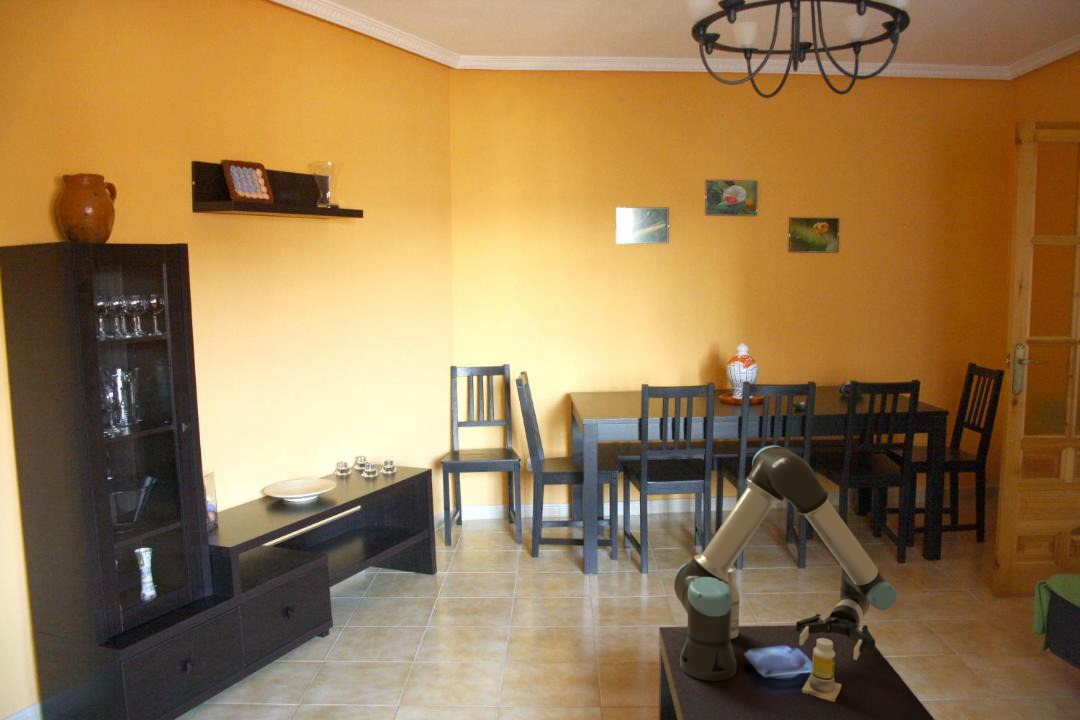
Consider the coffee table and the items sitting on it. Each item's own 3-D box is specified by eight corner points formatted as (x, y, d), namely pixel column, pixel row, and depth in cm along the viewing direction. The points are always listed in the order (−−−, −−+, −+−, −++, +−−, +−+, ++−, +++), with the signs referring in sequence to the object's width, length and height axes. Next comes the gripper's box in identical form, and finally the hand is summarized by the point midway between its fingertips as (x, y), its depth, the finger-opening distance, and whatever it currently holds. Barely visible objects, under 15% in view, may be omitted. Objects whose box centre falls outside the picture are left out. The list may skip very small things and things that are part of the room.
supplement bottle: (835, 684, 196) (837, 647, 195) (813, 681, 197) (815, 645, 196) (831, 673, 201) (833, 637, 200) (810, 671, 202) (812, 635, 201)
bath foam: (738, 630, 233) (741, 567, 231) (737, 641, 226) (740, 575, 224) (715, 627, 235) (717, 564, 233) (713, 637, 228) (715, 573, 226)
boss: (802, 692, 198) (802, 679, 198) (809, 679, 205) (810, 666, 204) (834, 702, 194) (835, 688, 193) (841, 687, 200) (841, 675, 200)
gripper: (892, 641, 211) (878, 674, 193) (800, 619, 224) (778, 648, 207) (894, 615, 210) (879, 646, 192) (801, 594, 223) (779, 621, 206)
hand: (827, 647), depth 199 cm, fingers open, 13 cm apart
